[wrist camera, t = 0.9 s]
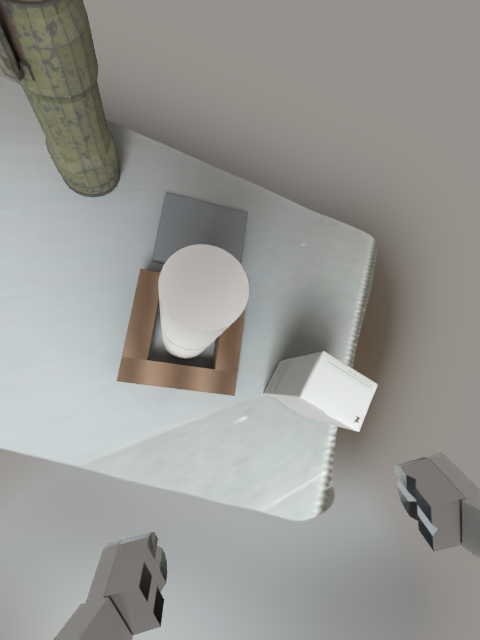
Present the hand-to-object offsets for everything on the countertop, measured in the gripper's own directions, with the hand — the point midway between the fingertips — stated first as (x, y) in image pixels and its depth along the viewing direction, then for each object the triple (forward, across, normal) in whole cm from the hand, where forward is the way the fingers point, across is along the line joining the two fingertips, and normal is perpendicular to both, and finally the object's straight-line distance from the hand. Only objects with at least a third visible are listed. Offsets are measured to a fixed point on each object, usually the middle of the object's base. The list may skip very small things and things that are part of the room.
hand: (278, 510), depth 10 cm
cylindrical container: (+38, +8, +7) cm, 40 cm away
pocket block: (+38, +8, +7) cm, 39 cm away
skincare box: (+36, -6, +20) cm, 41 cm away
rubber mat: (+47, +2, -7) cm, 47 cm away
